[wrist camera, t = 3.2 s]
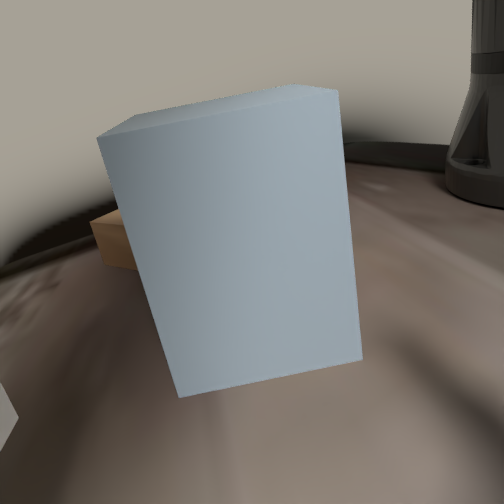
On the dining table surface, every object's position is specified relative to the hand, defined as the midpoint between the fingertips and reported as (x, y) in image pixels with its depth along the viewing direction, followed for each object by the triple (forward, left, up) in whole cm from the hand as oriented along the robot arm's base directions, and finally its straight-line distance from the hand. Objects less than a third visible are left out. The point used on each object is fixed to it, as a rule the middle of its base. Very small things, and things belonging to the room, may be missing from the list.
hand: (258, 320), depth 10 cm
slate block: (-7, -6, -7) cm, 12 cm away
